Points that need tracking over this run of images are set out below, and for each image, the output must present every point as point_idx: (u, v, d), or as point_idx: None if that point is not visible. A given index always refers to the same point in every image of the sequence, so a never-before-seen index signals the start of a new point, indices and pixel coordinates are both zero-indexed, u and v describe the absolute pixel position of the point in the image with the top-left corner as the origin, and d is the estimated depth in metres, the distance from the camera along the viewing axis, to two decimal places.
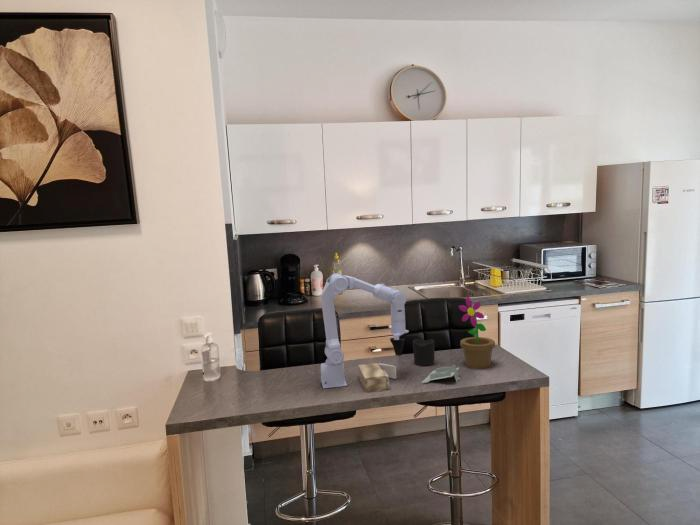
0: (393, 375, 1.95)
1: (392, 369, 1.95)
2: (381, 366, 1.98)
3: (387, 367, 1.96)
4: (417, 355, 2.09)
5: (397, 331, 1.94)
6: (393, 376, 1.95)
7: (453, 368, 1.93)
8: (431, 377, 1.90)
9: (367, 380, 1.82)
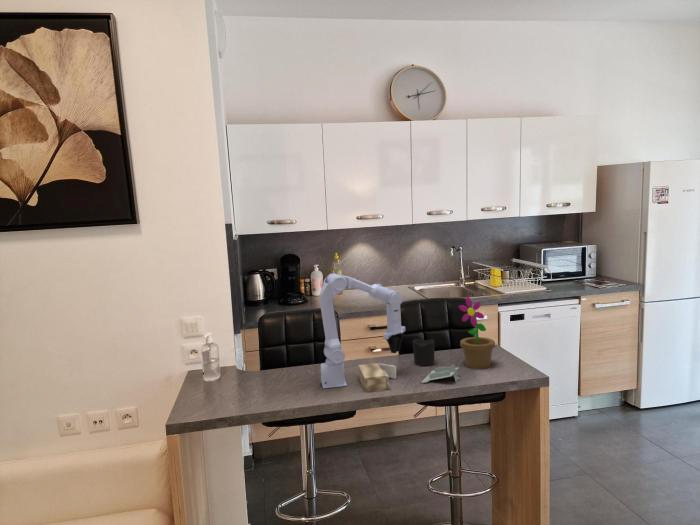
0: (393, 375, 1.95)
1: (392, 369, 1.95)
2: (381, 366, 1.98)
3: (387, 367, 1.96)
4: (417, 355, 2.09)
5: (390, 331, 1.96)
6: (393, 376, 1.95)
7: (452, 368, 1.93)
8: (430, 377, 1.90)
9: (367, 380, 1.82)
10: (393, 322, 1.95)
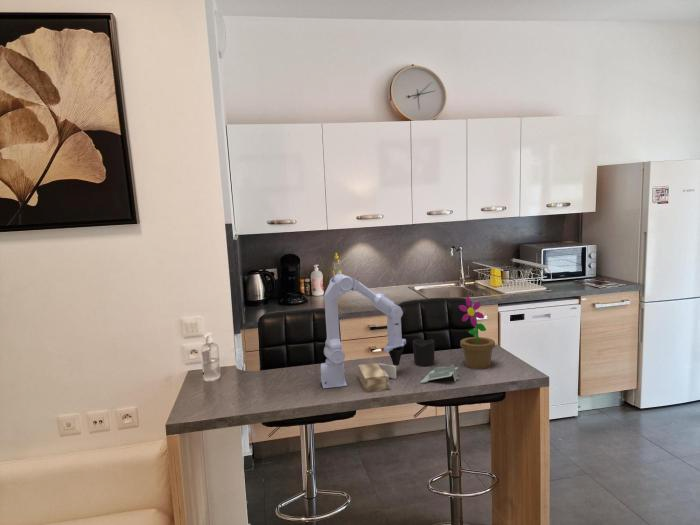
0: (393, 375, 1.95)
1: (392, 369, 1.95)
2: (381, 366, 1.98)
3: (387, 367, 1.96)
4: (417, 355, 2.09)
5: (391, 344, 1.97)
6: (393, 376, 1.95)
7: (452, 368, 1.93)
8: (430, 377, 1.90)
9: (367, 380, 1.82)
10: (394, 335, 1.96)
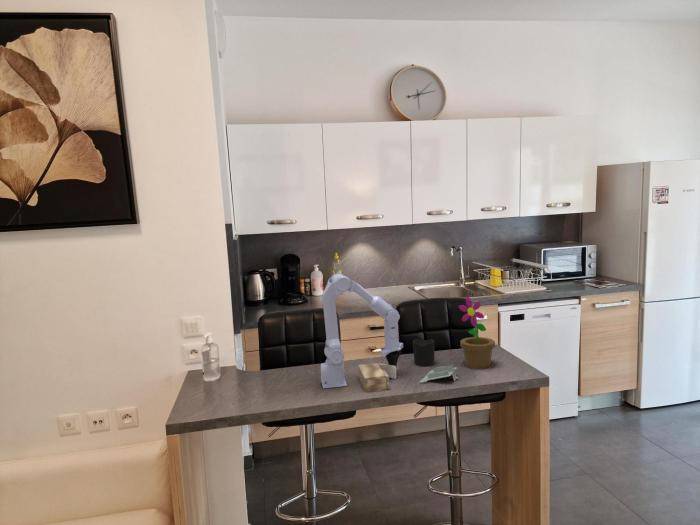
0: (393, 375, 1.95)
1: (392, 369, 1.95)
2: (381, 366, 1.98)
3: (387, 367, 1.96)
4: (417, 355, 2.09)
5: (388, 348, 1.95)
6: (393, 376, 1.95)
7: (451, 368, 1.93)
8: (429, 377, 1.90)
9: (367, 380, 1.82)
10: (391, 339, 1.94)
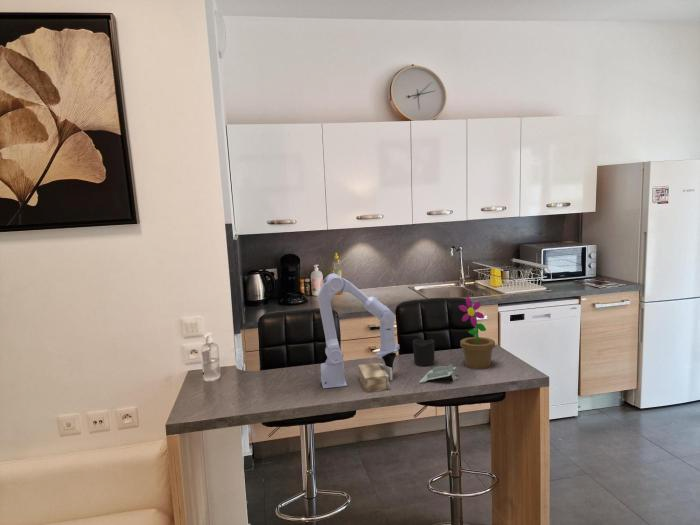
0: None
1: (388, 370, 1.93)
2: (380, 366, 1.97)
3: (384, 368, 1.95)
4: (417, 355, 2.09)
5: (384, 349, 1.93)
6: None
7: (450, 367, 1.94)
8: (428, 376, 1.91)
9: (367, 380, 1.82)
10: (387, 341, 1.92)
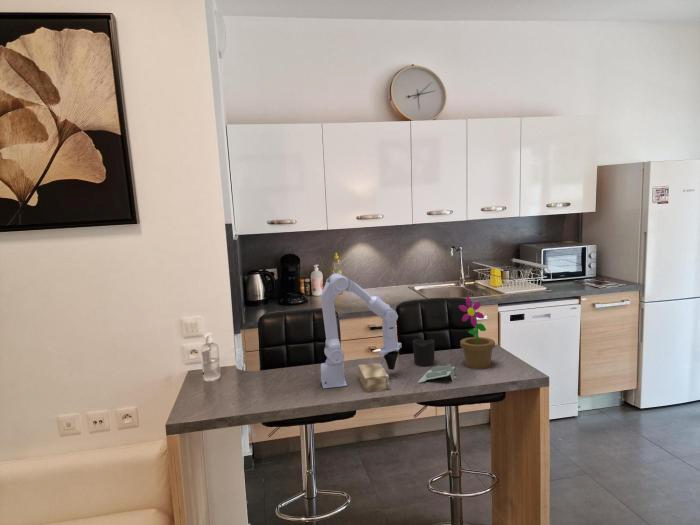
0: None
1: None
2: None
3: None
4: (417, 355, 2.09)
5: (386, 348, 1.95)
6: None
7: (449, 367, 1.94)
8: (427, 376, 1.91)
9: (367, 380, 1.82)
10: (389, 339, 1.94)
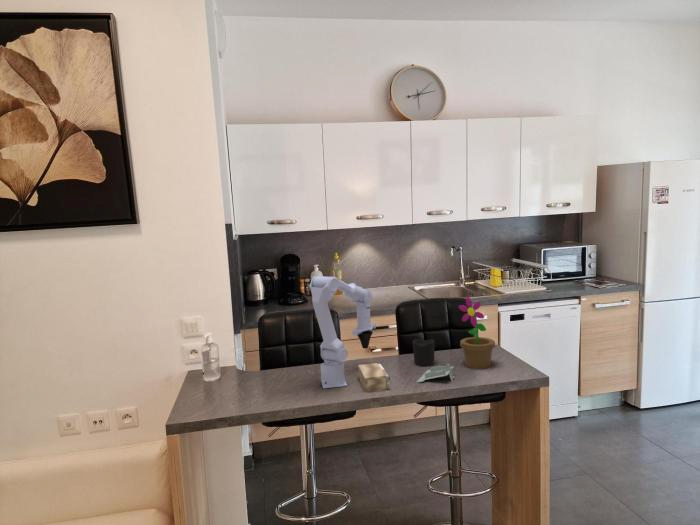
0: None
1: None
2: None
3: None
4: (417, 355, 2.09)
5: (360, 327, 2.04)
6: None
7: (447, 367, 1.94)
8: (426, 376, 1.91)
9: (367, 380, 1.82)
10: (362, 319, 2.04)
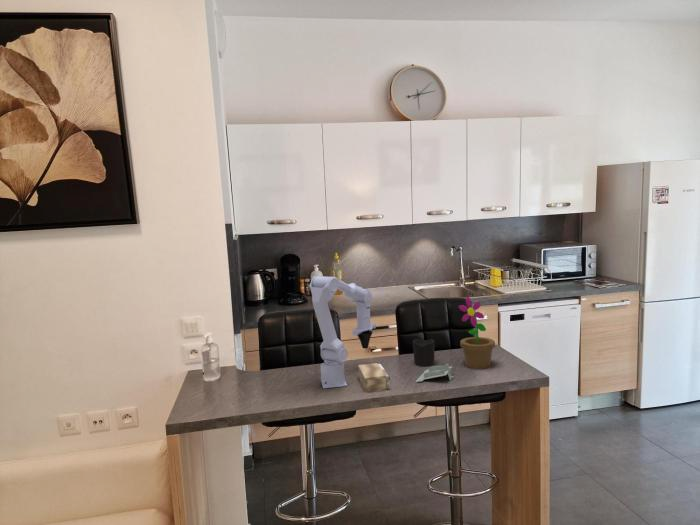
0: None
1: None
2: None
3: None
4: (417, 355, 2.09)
5: (360, 327, 2.04)
6: None
7: (446, 367, 1.95)
8: (425, 376, 1.91)
9: (367, 380, 1.82)
10: (362, 319, 2.04)
